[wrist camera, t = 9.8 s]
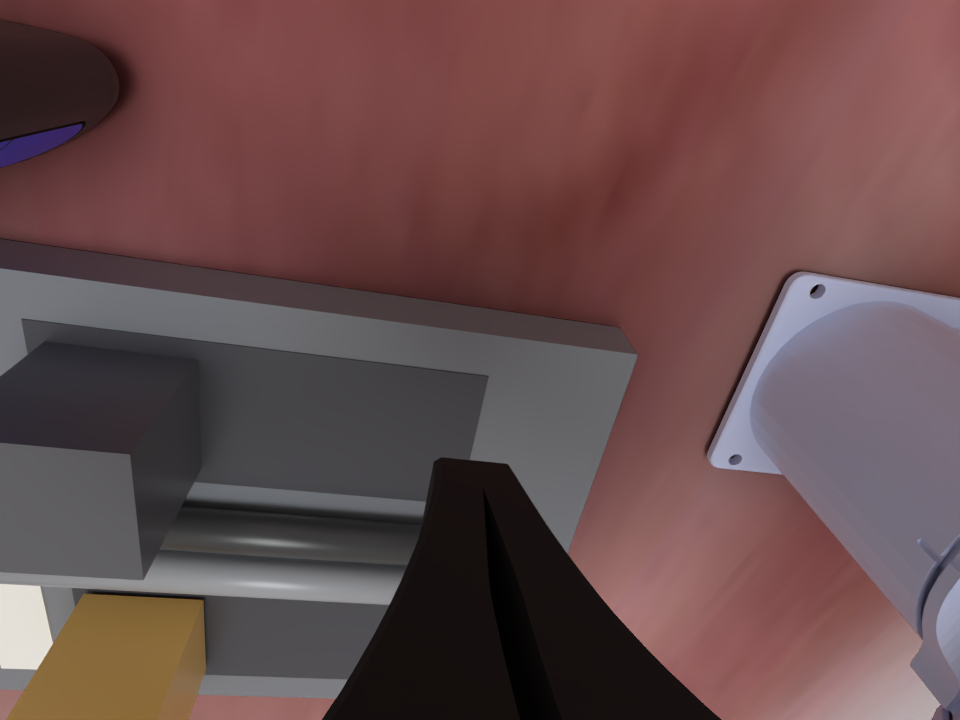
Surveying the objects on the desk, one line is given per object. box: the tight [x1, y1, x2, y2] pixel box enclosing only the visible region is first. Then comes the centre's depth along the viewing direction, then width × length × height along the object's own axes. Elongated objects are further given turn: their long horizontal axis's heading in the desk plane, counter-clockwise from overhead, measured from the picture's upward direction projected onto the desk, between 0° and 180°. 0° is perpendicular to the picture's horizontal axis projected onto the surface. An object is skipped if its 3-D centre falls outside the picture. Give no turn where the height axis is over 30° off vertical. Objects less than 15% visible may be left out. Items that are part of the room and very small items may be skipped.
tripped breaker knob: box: [6, 594, 206, 720], centre depth 20 cm, size 4×4×4 cm
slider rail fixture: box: [0, 239, 638, 698], centre depth 19 cm, size 22×18×6 cm
